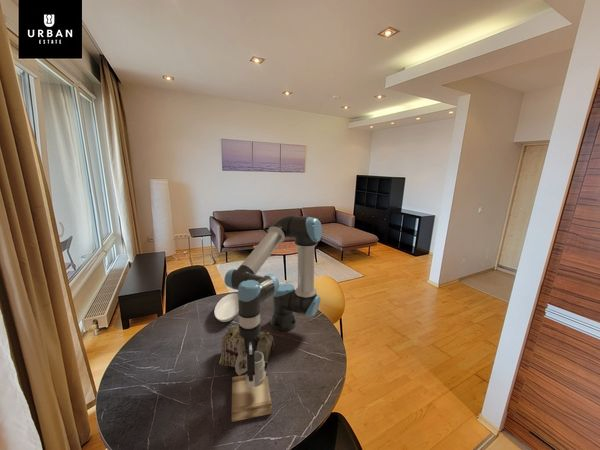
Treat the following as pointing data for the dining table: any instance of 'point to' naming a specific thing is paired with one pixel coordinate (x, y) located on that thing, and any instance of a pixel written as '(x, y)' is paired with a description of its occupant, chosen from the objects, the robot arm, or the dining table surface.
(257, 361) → the mug
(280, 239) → the robot arm
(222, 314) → the bowl
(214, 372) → the dining table surface
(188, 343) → the dining table surface
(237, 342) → the sculptural head
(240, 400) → the plinth
